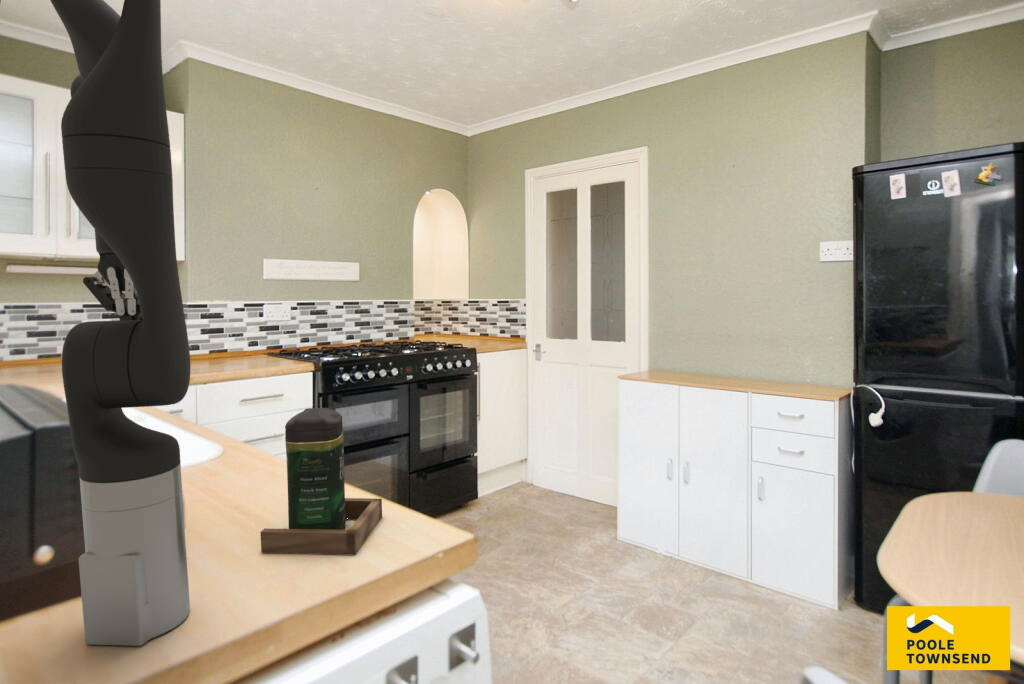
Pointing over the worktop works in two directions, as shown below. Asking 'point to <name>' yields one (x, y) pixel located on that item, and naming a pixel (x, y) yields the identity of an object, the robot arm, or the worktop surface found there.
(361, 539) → the wooden u-shaped frame
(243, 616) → the worktop surface
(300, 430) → the coffee jar
